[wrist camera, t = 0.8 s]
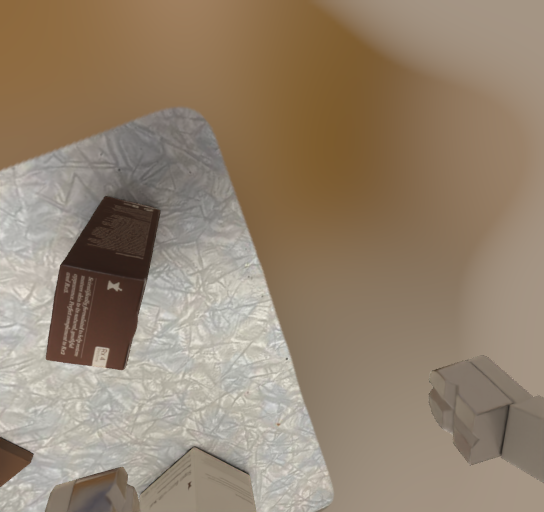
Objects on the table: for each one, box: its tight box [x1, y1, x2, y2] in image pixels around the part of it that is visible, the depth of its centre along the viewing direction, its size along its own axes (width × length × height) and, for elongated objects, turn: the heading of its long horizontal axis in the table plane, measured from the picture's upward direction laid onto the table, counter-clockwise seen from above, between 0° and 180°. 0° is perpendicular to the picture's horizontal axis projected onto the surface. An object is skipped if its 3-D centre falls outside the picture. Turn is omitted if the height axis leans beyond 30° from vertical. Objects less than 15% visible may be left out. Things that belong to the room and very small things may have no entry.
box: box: [46, 196, 160, 370], centre depth 25 cm, size 6×4×12 cm
